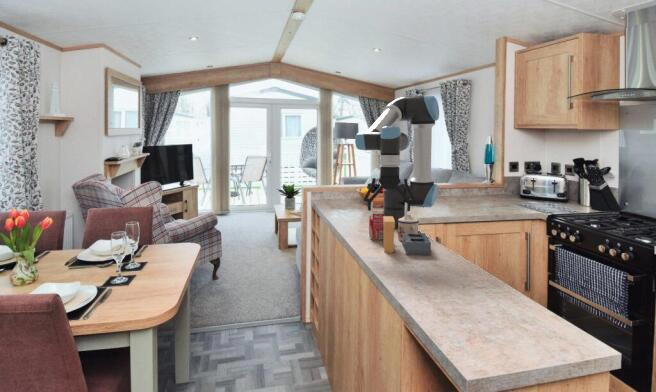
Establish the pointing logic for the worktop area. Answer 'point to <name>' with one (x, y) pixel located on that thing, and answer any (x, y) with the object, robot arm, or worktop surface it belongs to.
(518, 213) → the worktop surface
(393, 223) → the peach eraser-shaped slab
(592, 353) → the worktop surface
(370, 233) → the soda can
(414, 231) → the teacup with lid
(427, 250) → the gray slotted block
